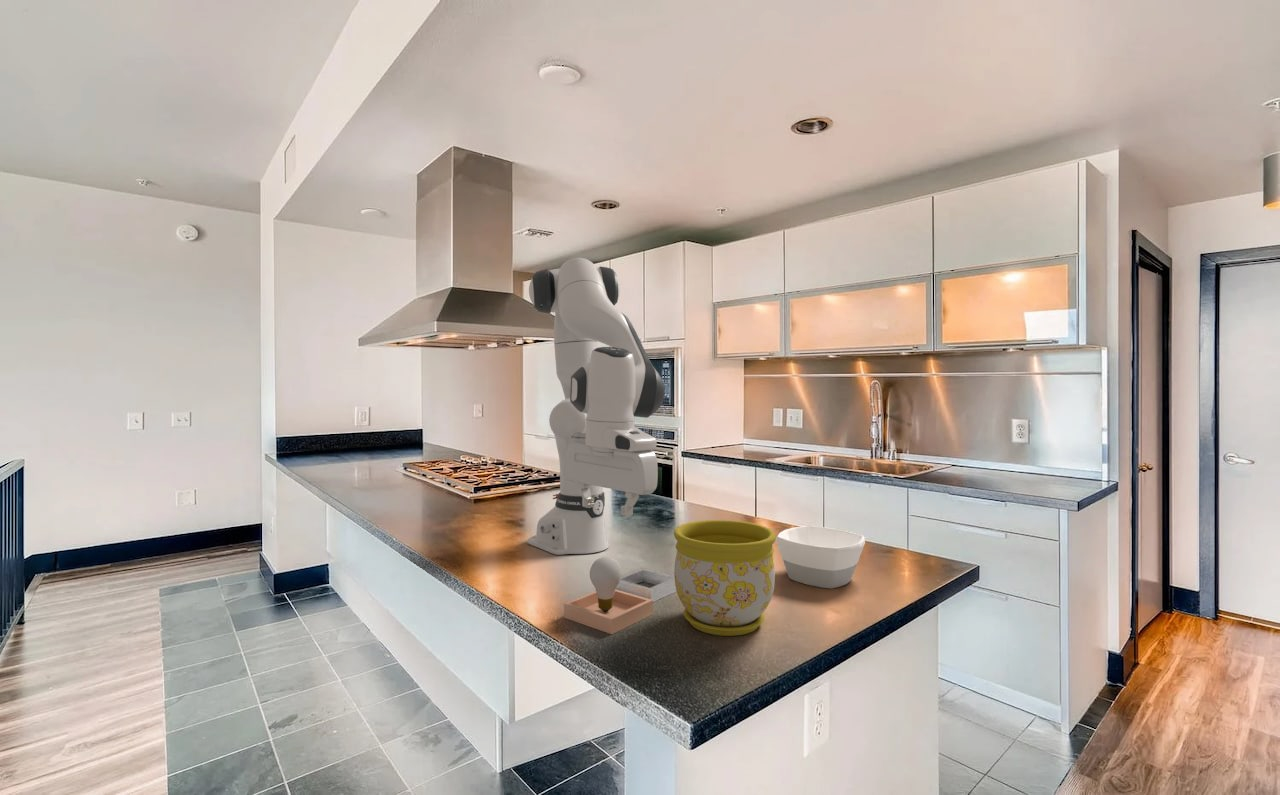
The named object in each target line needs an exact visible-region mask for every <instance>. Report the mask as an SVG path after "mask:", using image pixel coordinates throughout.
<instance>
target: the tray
mask: <svg viewBox="0 0 1280 795" xmlns="http://www.w3.org/2000/svg"><path fill="white" fill-rule="evenodd" d="M612 606H613V607H612V608H611V609H610V610H609V611H607V612H604V611H602V610H601V609H600V608H599V607H598V596H597V593H596V590H594V591H592V592H590V593H587V594H584V595H582V596H579V597H577V598H574V599H572V600H570V601H567V602H565V603H563V618H564V619H567V620H569V621H572V622H575V623H578V624H582V625H584V626H587V627H590V628H592V629H596V630H598V631H601V632H604V633H607V634H609V635H614V634H615V633H617V632H619V631H622V630H624V629H626V628H629V627H630V626H632V625H634V624H636V623H638V622H640V621H642V620H644V619H646V618H648V617H650V616H652V615H654V602H653V600H651V599H648V598H644V597H641V596H637V595H634V594H630V593H627V592H623V591H620V590H616V589H615V593H614V596H613V605H612Z"/></svg>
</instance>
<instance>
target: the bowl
mask: <svg viewBox="0 0 1280 795" xmlns="http://www.w3.org/2000/svg"><path fill="white" fill-rule="evenodd" d="M775 542H776V544H777V546H778V550H779V554H780V556H781V559H782V562H783V564H784V566H785V570H786V573H787V576H788V578H789V579H790V580H792V581H795V582H797V583H799V584H802V585H803V584H804V585H806V586H812V587H817V588H821V589H822V588H823V589H828V590H831V589H836V588H841V587H843V586H845V585H848V584H849V583H850V582H851V581H852V578H853V575H854V573H855V570H856V567H857V564H858V562H859V560H860V558H861V555H862V552H863V550H864V547H865V543H866V538H865V535H862V534H860V533H859V534H858V533H855V532H851V531H847V530H843V529H838V528H832V527H824V526H813V525H804V526H803V525H801V526H796V527H795V526H794V527H791V528H786V529H784V530H782V531H780V532H779V533H778V535H777V536H776V540H775Z"/></svg>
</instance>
